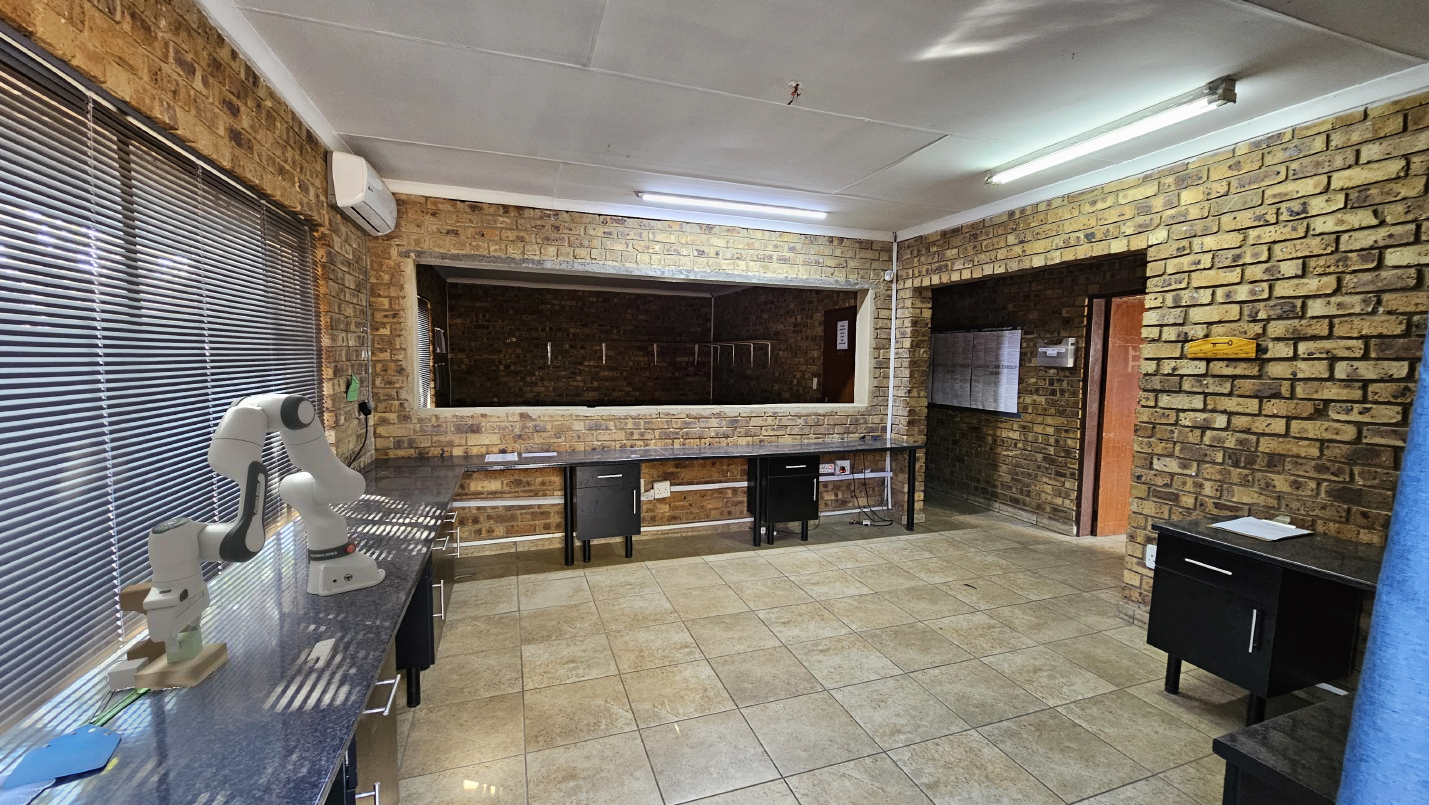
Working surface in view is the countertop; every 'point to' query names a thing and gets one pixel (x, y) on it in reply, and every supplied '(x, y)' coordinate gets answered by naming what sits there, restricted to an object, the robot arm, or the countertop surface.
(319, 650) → the white plastic strip tool
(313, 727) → the countertop surface
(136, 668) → the grey plastic cube
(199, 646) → the sage green cube
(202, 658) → the pale maple block
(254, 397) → the robot arm
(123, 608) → the decorative block
